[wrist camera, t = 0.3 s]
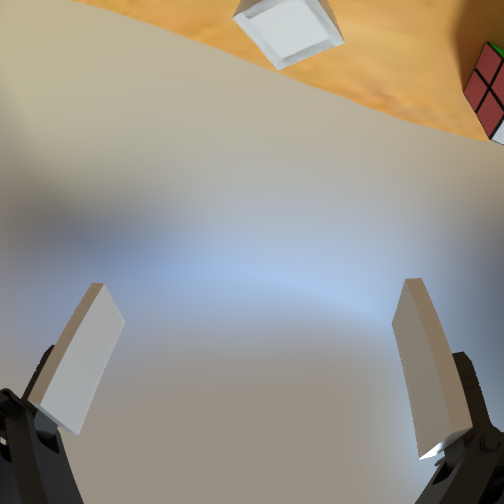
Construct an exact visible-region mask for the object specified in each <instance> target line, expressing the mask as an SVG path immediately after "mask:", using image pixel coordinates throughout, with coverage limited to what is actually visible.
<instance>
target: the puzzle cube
mask: <svg viewBox="0 0 504 504" xmlns="http://www.w3.org/2000/svg"><path fill="white" fill-rule="evenodd" d="M463 93H464V95H465V97H466V98H467V100H468V102H469V103H470V105H471V107H472V109H473V110H474V112H475V114H476V115H477V117H478V119H479V121H480V123H481V125H482V127H483V128H484V130H485V132H486V134H487V136H488V138H489V140H492V141H494V142H497V143H500V144H502V145H504V50H502V49H501V48H499V47H497V46H495V45H493V44H491V43H489V42H487V43H486V44H485V46H484V49H483V51H482V53H481V56H480V58H479V60H478V62H477V65H476V69H475V70H474V71H473V73H472V76H471V78H470V80H469V82H468V84H467V86H466V88H465V90H464V92H463Z"/></svg>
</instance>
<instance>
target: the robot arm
mask: <svg viewBox="0 0 504 504" xmlns="http://www.w3.org/2000/svg"><path fill="white" fill-rule="evenodd" d="M124 324H125V322H124V320H123V318H122V316H121V314H120V312H119V311H118V309H117V307H116V305H115V303H114V301H113V299H112V297H111V295H110V293H109V291H108V289H107V287H106V285H105V283H92V284H91V286H90V287H89V289H88V291H87V292H86V294H85V295H84V297H83V299H82V300H81V302H80V303H79V305H78V306H77V308H76V310H75V311H74V313H73V315H72V316H71V318H70V320H69V322H68V323H67V325H66V327H65V328H64V330H63V332H62V334H61V336H60V337H59V339H58V341H57V343H56V344H55V345H52V346H51V347H50V348H49V349H48V350H47V351H46V352H45V353H44V355H43V357H42V359H41V360H40V364H39V365H38V366H37V368H36V371H35V372H34V374H33V376H32V378H31V380H30V382H29V384H28V386H27V388H26V390H25V392H24V394H23V396H22V398H21V399H20V398H18V397H17V396H16V395H15V394H14V393H13V392H12V391H11V390H10V389H7V388H4V389H2V390H0V437H2V438H3V439H5V440H6V444H5V445H4V444H2V443H1V442H0V504H84V503H83V500H82V498H81V495H80V493H79V490H78V488H77V485H76V482H75V480H74V477H73V474H72V471H71V468H70V465H69V462H68V459H67V456H66V453H65V450H64V446H63V443H62V439H61V435H60V433H59V431H58V430H57V427H58V426H60V427H61V428H62V429H64V430H65V431H67V432H70V433H72V434H75V435H77V436H78V435H79V433H80V431H81V428H82V425H83V422H84V420H85V417H86V414H87V411H88V409H89V406H90V404H91V401H92V399H93V396H94V394H95V391H96V389H97V386H98V384H99V381H100V379H101V377H102V374H103V372H104V370H105V367H106V365H107V363H108V360H109V358H110V356H111V353H112V351H113V349H114V347H115V344H116V342H117V340H118V338H119V336H120V333H121V331H122V329H123V327H124ZM392 327H393V330H394V334H395V338H396V341H397V346H398V350H399V354H400V358H401V362H402V366H403V371H404V375H405V380H406V384H407V389H408V394H409V399H410V405H411V409H412V415H413V421H414V426H415V434H416V440H417V447H418V455H419V459H422V458H426V457H430V456H435V455H438V454H439V453H440V452H442V451H443V450H444V453H445V456H444V457H443V458H441V459H440V460H438V461H437V463H436V464H435V466H438V465H439V464H440V465H439V467H438V468H437V470H436V472H435V473H434V475H433V477H432V478H431V480H430V482H429V483H428V485H427V486H426V488H425V489H424V491H423V492H422V494H421V495H420V497H419V498H418V500H417V501H416V503H415V504H504V432H500V430H498V429H497V428H496V427H494V426H493V425H492V423H491V421H490V419H489V415H488V412H487V408H486V405H485V401H484V398H483V395H482V391H481V388H480V386H479V382H478V379H477V377H476V373H475V370H474V367H473V364H472V361H471V360H470V359H469V358H468V356H467V355H466V354H465V353H464V352H458V353H453V354H452V353H451V350H450V347H449V344H448V342H447V339H446V336H445V334H444V331H443V328H442V326H441V323H440V321H439V318H438V315H437V313H436V311H435V308H434V306H433V303H432V301H431V299H430V296H429V294H428V292H427V290H426V287H425V285H424V283H423V280H422V278H416V279H405V282H404V285H403V289H402V292H401V296H400V299H399V302H398V306H397V309H396V312H395V315H394V318H393V321H392Z"/></svg>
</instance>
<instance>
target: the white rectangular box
mask: <svg viewBox="0 0 504 504" xmlns="http://www.w3.org/2000/svg"><path fill="white" fill-rule="evenodd" d="M232 18H233V19H234V20H235V21H236V22H237V24H238V25H239V26H240V27H241V28H242V29H243V30H244V31H245V32H246V33H247V35H248V36H249V37H250V38H251V39H252V40H253V41H254V43H255V44H256V45H257V46H258V47H259V48H260V50H261V51H262V52H263V53H264V54H265V55H266V57H267V58H268V59H269V60H270V61H271V63H272V64H273V65H274V66H275V68H276V69H277V70H278V71H279V70H281V69H283V68H285V67H288V66H290V65H292V64H294V63H296V62H299V61H301V60H303V59H306V58H308V57H310V56H313V55H315V54H317V53H320V52H322V51H325V50H327V49H330V48H333V47H335V46H338V45H341V44H343V43H345V42H344V39H343V36H342V33H341V31H340V28H339V25H338V23H337V20H336V17H335V15H334V12H333V10H332V9H331V7H330V6H329V4H328V3H327V1H326V0H241V2H240V4H239V6H238V8H237V10H236V12H235V13H234V15H233V17H232Z"/></svg>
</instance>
